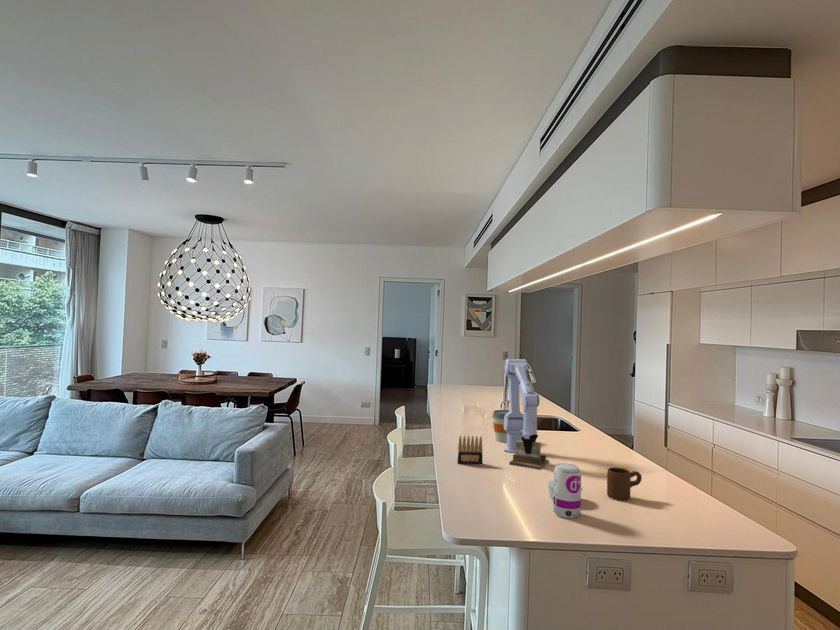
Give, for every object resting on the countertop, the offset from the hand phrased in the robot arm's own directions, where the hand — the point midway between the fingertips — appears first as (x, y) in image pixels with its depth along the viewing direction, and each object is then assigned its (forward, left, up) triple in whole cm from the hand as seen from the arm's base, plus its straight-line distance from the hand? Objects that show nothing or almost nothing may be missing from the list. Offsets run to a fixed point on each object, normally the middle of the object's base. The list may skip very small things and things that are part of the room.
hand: (529, 452), depth 212 cm
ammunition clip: (+16, -21, -5) cm, 27 cm away
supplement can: (+51, +29, -5) cm, 59 cm away
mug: (+23, +42, -5) cm, 48 cm away
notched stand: (0, 0, -5) cm, 5 cm away
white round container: (+38, +25, -5) cm, 46 cm away
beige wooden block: (0, 0, -4) cm, 4 cm away
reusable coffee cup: (-35, -25, -5) cm, 43 cm away
